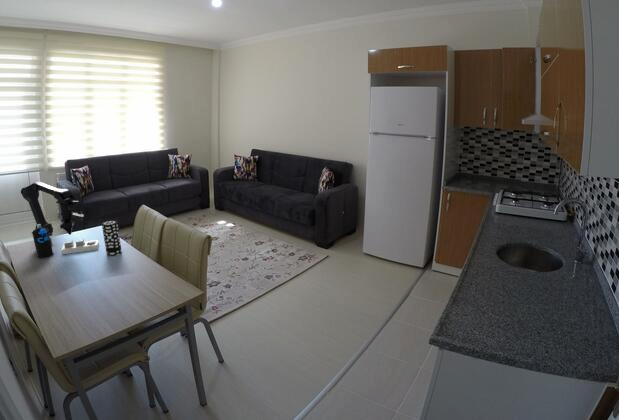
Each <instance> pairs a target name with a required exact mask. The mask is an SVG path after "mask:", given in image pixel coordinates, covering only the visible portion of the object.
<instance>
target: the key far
mask: <svg viewBox="0 0 619 420" xmlns="http://www.w3.org/2000/svg"><path fill="white" fill-rule="evenodd" d="M87 241H88V242H87ZM87 241H86V242H87V245H91V244H96V243H95V239H92V240H87Z"/></svg>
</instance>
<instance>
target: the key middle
mask: <svg viewBox="0 0 619 420" xmlns="http://www.w3.org/2000/svg"><path fill="white" fill-rule="evenodd" d="M84 242H85V239H84V238H82V239H81V238H80V239H76V240H75V243H76V246H84Z"/></svg>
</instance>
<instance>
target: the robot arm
mask: <svg viewBox="0 0 619 420" xmlns="http://www.w3.org/2000/svg"><path fill="white" fill-rule="evenodd" d="M40 192H43V193H46V194H49V195H51V196H52V197H53V198H54V199H55V200H57V201H56V202H55V203H56V204H59V210H60V213H59V214H60V216H61V223H60V225H59V227H60V229H61V230H62V229H63V230H65V231H66V233H67V234H68V235H72V232H73V228H74V225H75V221H78V222H83V219H84V213H82V212H83V210H84V205H83V203H82V202H80V200H77V199H76V197H75V196H74V195H73V194H72V192H71V190H69V189H67V188H57V187H54V186H52V185H50V184H46V183H44V182H43V181H35V182H33V183H31V184H30V185H28V186H25V187H22V188H21V189H20V195H21V196H22V197H23V199H25V201H27V202H28V204H29V208H30V210H31V213H32V216H33V219H34V221H35V229H37V225H38V224H41V227H42V228H46V229H48V230H49V231H48V232H49V237H50V241H51V246H53V239H52V238H51V237H52V236H53V233H54V227H53V225H52V223H51V222H50V223H49V222H47V220H46V218H45V215H44V212H43V210H42V207H41V205H40V201H39V197H40ZM35 229H34V230H35Z"/></svg>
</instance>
